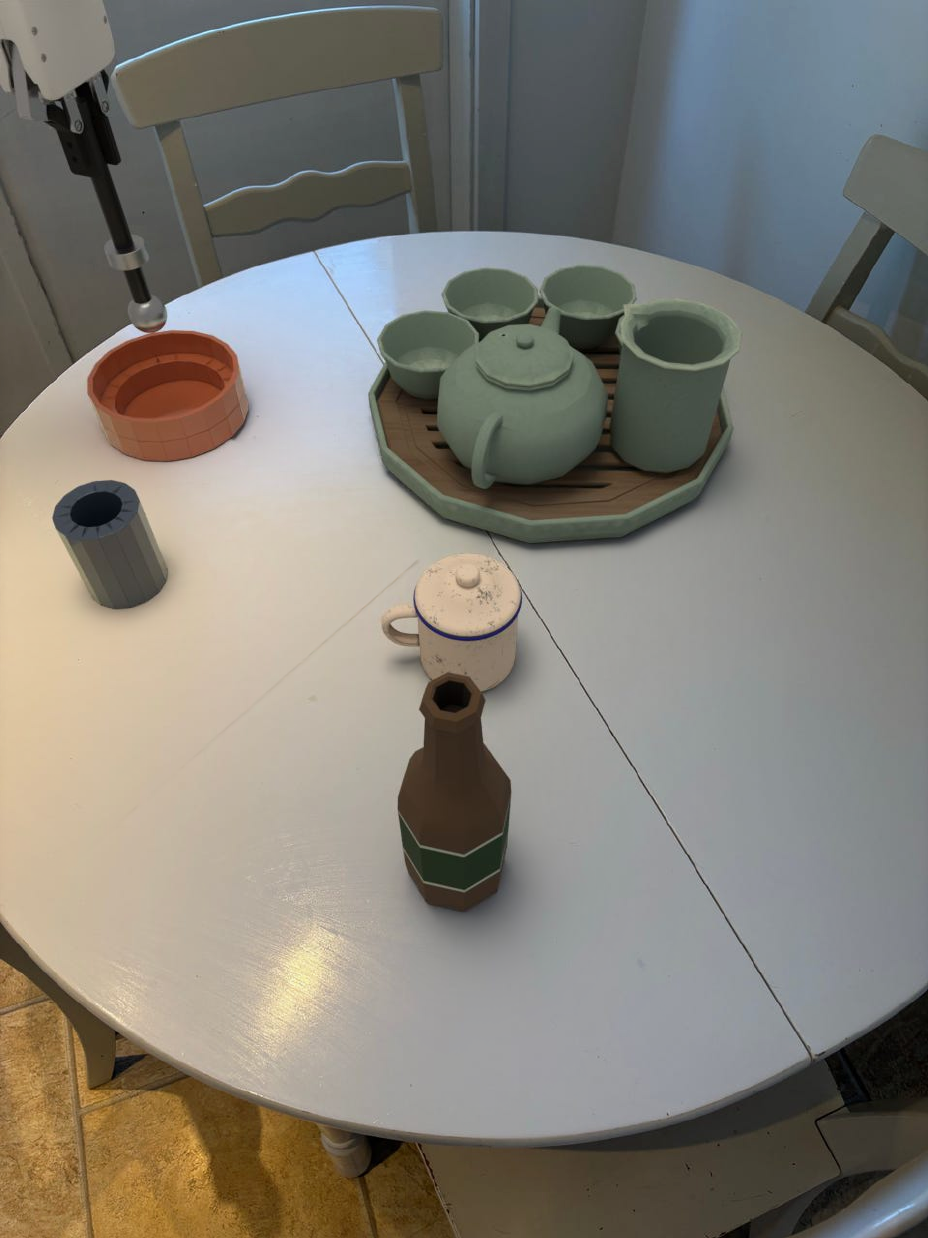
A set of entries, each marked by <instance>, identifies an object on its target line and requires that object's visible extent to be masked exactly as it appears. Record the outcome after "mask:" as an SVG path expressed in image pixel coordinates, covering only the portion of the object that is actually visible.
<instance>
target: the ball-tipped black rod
mask: <svg viewBox="0 0 928 1238" xmlns="http://www.w3.org/2000/svg"><path fill="white" fill-rule="evenodd" d="M75 100H76V103H77V106H78V109H79V112H80V115H81V118H82V121H83V124H84V128H86V129H90V130H91V132H92V135H93V138H94V141H95V144H96V147H97V150H98V153H99V156H100V159H101V162H102V165H103V169H104V176H103V177H102V178H100V179H97V178H92V177H89V178H90V181H91V184H92V188H93V190H94V192H95V196H96V199H97V201H98V204H99V207H100V209H101V212H102V215H103V218H104V221H105V224H106V227H107V229H108V232H109V236H110V239H108V240H107V241H106V243H104V246H103V250H104V253H105V256H106V258H107V261H108V264H109V266H110V267H111V268H112V269H114V270H117V271H122V272H123V274H124V278H125V281H126V283H127V287H128V289H129V291H130V295H131V298H132V299H131V300H130V302H129V304H128V306H127V316H128V319H129V322H130V324H132V326H133V327H134V328H135V329H137V330H138V331H140V332H142V333H145V334H149V333H155V332H160V330H162V329H163V328H164V327H165V325H166V324H167V321H168V311H167V307H166V305H165V303H164V302H163V301H162V300H161V299H160V297H158V296H156V295H154V294H151V290H150V288H149V285H148V281H147V278H146V275H145V273H144V270H143V266H144V265H146V264H147V263H148V261H149V260H150V254H149V251H148V249H147V244H146V242H145V239H144V238H143V237H142V236H140V235H137V234H131V230H130V227H129V224H128V222H127V218H126V216H125V213H124V210H123V207H122V204H121V200H120V198H119V194H118V192H117V189H116V186H115V183H114V179H113V176H112V174H111V171H110V167H109V164H107V161H106V158H105V155H104V152H103V149H102V146H101V143H100V140H99V137H98V134H97V131H96V128H95V125H94V122H93V119H92V116H91V113H90V111H89V108H88V105H87V102H86V99H85V98H83V97H75Z"/></svg>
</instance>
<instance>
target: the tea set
mask: <svg viewBox="0 0 928 1238" xmlns="http://www.w3.org/2000/svg"><path fill="white" fill-rule="evenodd" d="M441 298H442V301H443V304H444V306H445V308H446V310H447V311H437V310H420V311H415V312H410V313H405V314H401V315H400V316H398V317H396V318H395V319H393V320H391V321H389V322H388V323H386V324H384V326H383V328H382V330H381V332H380V333H379V334H378V337H377V339H376V342H377V347H378V349H379V350H378V351H379V353H380V354H379V355H380V356H381V357H382V359H383V360H384V363H383V365H382V367H381V369H380V371H379V373H378V374H377V376H376V377H375V380H374V381H373V383H372V385H371V387H370V389H369V391H368V394H367V397H368V405H369V411H370V415H371V418H372V423H373V427H374V431H375V436H376V440H377V444H378V449H379V452H380V458H381V461H382V463H383V465H384V467H385V468H386V469H387V470H388V471H389V472H390V473H391V474H392V475H394V476H395V477H396V478H397V479H398V480H399V481H400V482H401V483H403V484H404V485H405V486H406V487H407V488H409V490H410V491H412V492H413V493H414V495H416V496H418V497H419V498H420V499H421V500H422V501H423V502H424V503H425V504H427V505H428V506H429V507H430V508H431V509H432V510H433V511H435V512H436V513H437V514H438V515H439V516H440V517H441V518H443V519H446V520H451V521H453V522H457V523H461V524H464V525H467V526H470V527H474V528H477V529H481V530H484V531H487V532H490V533H494V534H497V535H499V536H500V535H501V536H503V537H508V538H511V539H514V540H517V541H520V542H524V543H528V544H534V543H535V544H537V543H550V542H563V541H578V540H593V539H608V538H609V539H610V538H621V537H624V536H627V535H628V534H630V533H632V532H634V531H636V530H638V529H640V528H642V527H644V526H646V525H648V524H650V523H652V522H654V521H656V520H659V518H663V516H665V515H667V514H670V513H671V512H673V511H676V510H677V509H679V508H681V507H683V506H685V505H687V504H690V503H691V502H693V501H694V500H695V499H697V497H698V496H700V493H701V492H702V490H703V488H704V487H705V485H706V483H707V481H708V480H709V478H710V477H711V475H712V473H713V471H714V469H715V468H716V465H717V464H718V462H719V460H720V459H721V457H722V455H723V454H724V453H725V450H726V449H727V446H728V445H729V443H730V441H731V438H732V435H733V433H734V432H733V431H734V425H733V420H732V417H731V412H730V408H729V403H728V399H727V395H726V391H725V386H724V384H725V381H726V377H727V374H728V370H729V366H730V364H731V363H730V362H731V360H732V359H733V357H735V356H736V355H737V354H739V353H740V350H741V345H742V337H743V333H742V332H741V330H740V329H739V327H738V325H737V324H736V323H735V321H734V320H733V318H732V316H730V315H728V314H726V313H724V312H723V311H721V310H720V309H718V308H716V307H713V306H712V305H710V304H708V303H705V302H699V301H695V300H690V299H686V298H682V297H681V298H680V297H679V298H678V297H677V298H661V299H660V298H659V299H652V300H650V301H647V302H644V303H635V302H636V301H638V299H637V298H638V297H637V291H636V286H635V284H634V283H633V282H632V281H631V280H629V278H627V277H626V276H625V275H624V274H623V273H621V272H619V271H616V270H613V269H611V268H609V267H605V266H603V265H590V264H589V265H588V264H576V265H572V266H567V267H560V268H558V269H556V270H555V271H553V272H552V273H550V274H548V275H547V276H545V277H544V278H543V281H542V283H541V285H540V288H539V289H538V287H537V286H536V285H535V283H533V282H532V281H531V280H530V279H529V277H527V276H526V275H523V274H521V273H518V272H516V271H513V270H511V269H508V268H498V267H497V268H495V267H480V268H476V269H469V270H465V271H462V272H461V273H459V274H457V275H456V276H454V277H452V278H450V279H449V280H447V283H446V284H445V286H444V288H443V290H442V292H441Z"/></svg>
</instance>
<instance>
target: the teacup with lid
mask: <svg viewBox="0 0 928 1238" xmlns="http://www.w3.org/2000/svg"><path fill="white" fill-rule="evenodd" d="M412 597H413V598H412V599H413V601H412V602H413V603H406V604H397V605H395V606H392V607H390V608H387V610H385V611H384V613H383V614H382V616H381V622H380V623H381V624H380V625H381V631H382V633H383V634H384V636H385V637H386V638H387V639H388V640H389V641H391V642H392V643H394V644H396V645H398V646H402V647H409V648H410V647H412V648H413V647H414V648H415V647H417V648H419V655H420V662H421V666H422V668H423V670H424V672H425V674H426V675H427V676H428V677H429V679H431V681H432V680H434V679H436V678H437V677H439V676H441V675H443V674H445V673H447V672H449V673H454V674H459V675H464V676H469V677H470V678H471V679H472V681H473V682H474V683H475V685H476V686H477V687H478V689H479V690H480V691H481V693H482V692H485V691H488V690H491V689H493V688H495V687H496V686H498V685H499V684H501V683H502V682H503V681H504V680H505V679H506V678H507V677H508V676H509V674H511V671H512V670H513V667H514V664H515V661H516V653H517V651H516V650H517V638H518V637H517V636H518V625H519V614H520V612H521V609H522V604H523V592H522V588H521V586H520V583H519V580H518V579H517V577H516V575H515V574H514V572H513V571H512V570H511V569H509V568H508V567H507V566H506V565H505V564H503V563H502V562H500V560H497V559H495V558H493V557H491V556H488V555H484V554H480V553H457V554H451V555H449V556H445V557H442V558H441V559H439V560H436V561H435V562H433V563H432V564H430V565H429V566H428V567H427V568H426V569H425V570H424V571H423V573H422V574H421V575H420V577H419V578H418V580H417V582H416V585H415V587H414V590H413V596H412ZM415 618H416V619H417V627H418V633H409V632H408V633H407V632H402V631H401V630H400V631H399V630H397V629H396V628H395V627H393V625H392V623H393V622H395V621H397V620H401V619H415Z"/></svg>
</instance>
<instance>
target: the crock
mask: <svg viewBox="0 0 928 1238" xmlns="http://www.w3.org/2000/svg"><path fill="white" fill-rule="evenodd" d="M51 519H52V522H53V525H54V528H55V530H56V532H57V534H58V536H59V538H60V540H61V541H62V543H63V546H64V547H65V549H66V551H67V554H68V555H69V557H70V559H71V561H72V562H73V564H74V566H75V568H76V570H77V572H78V574H79V577H80V578H81V580H82V582H83V583H84V586H85V588H86V589H87V591H88V593H89V595H90V597H91V598H92V600H94V601H95V602H96V603H98V604H99V605H100V606H103V607H106V608H109V609H115V610H124V609H125V610H126V609H131V608H134V607H138V606H141V605H143V604H145V603H148V602H149V601H151V600H152V599H154V597H156V596H157V595H158V594H159V593H160V592H161V590H163V588H164V587H165V585H166V582H167V579H168V571H169V570H168V566H167V564H166V561H165V559H164V557H163V554H162V552H161V549H160V547H159V544H158V542H157V539H156V537H155V535H154V532H153V530H152V527H151V524H150V522H149V520H148V517H147V514H146V513H145V510H144V507H143V505H142V502H141V500H140V497H139V495H138V493H137V491H136V490H135V489H134V488H133V487H132V486H130V485H129V484H127V483H126V482H123V481H118V480H114V479H106V480H105V479H104V480H95V481H89V482H86V483H84V484H81V485H78V486H76V487H75V488H73V489H71V490H70V491H68V492H67V493H65V494H64V495H63V496H62V497H61V499H60V500H59V501H58V502H57V503H56V505H55V506H54V510H53V514H52V517H51Z"/></svg>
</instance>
